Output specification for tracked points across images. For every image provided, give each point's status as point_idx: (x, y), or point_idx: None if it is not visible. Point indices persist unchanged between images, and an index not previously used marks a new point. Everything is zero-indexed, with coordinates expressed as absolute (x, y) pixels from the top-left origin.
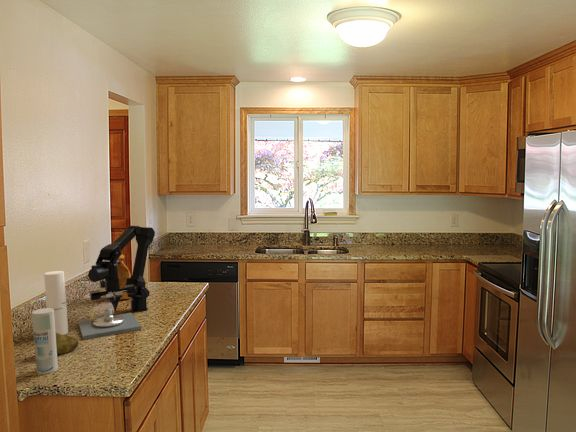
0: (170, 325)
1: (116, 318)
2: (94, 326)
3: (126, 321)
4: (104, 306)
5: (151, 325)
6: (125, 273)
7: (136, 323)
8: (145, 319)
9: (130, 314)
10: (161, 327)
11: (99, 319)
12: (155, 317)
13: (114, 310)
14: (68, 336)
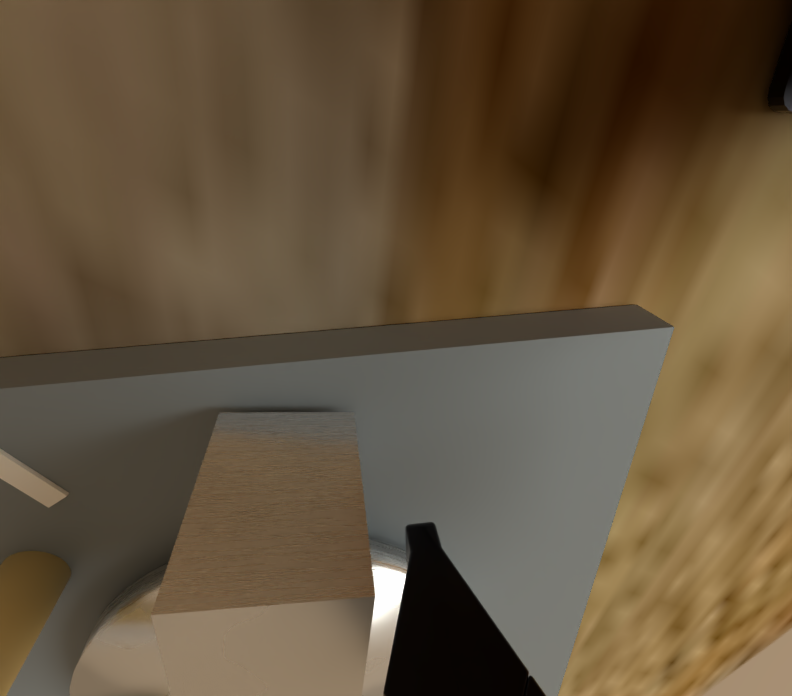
0: (725, 662)
1: (388, 660)
2: None
3: None
4: (153, 626)
5: (633, 640)
6: None
7: (541, 684)
8: (683, 502)
9: (619, 416)
10: (661, 680)
11: (148, 653)
12: (787, 478)
13: (406, 536)
14: None
